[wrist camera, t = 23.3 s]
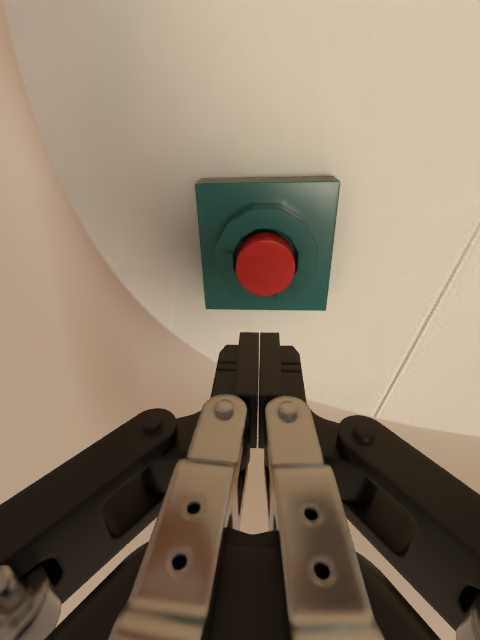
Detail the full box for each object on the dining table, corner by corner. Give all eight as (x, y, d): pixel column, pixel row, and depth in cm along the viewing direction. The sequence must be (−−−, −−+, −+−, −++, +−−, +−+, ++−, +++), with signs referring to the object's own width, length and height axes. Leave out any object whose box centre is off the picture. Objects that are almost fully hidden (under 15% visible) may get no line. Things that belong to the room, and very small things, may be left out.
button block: (209, 296, 28) (201, 321, 25) (200, 178, 24) (189, 188, 20) (321, 297, 27) (329, 323, 24) (334, 176, 23) (346, 185, 19)
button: (238, 284, 23) (236, 295, 22) (237, 232, 22) (234, 240, 20) (292, 284, 23) (293, 296, 22) (294, 231, 21) (297, 239, 20)
